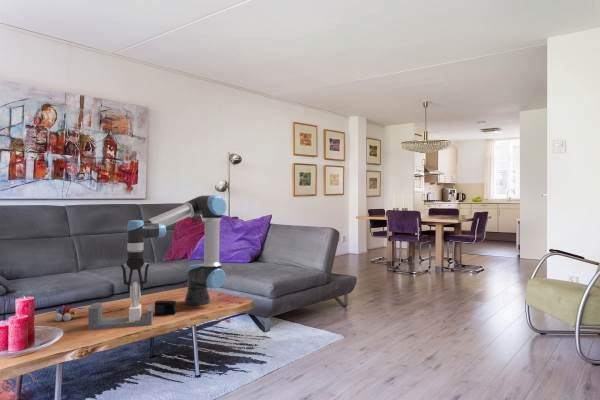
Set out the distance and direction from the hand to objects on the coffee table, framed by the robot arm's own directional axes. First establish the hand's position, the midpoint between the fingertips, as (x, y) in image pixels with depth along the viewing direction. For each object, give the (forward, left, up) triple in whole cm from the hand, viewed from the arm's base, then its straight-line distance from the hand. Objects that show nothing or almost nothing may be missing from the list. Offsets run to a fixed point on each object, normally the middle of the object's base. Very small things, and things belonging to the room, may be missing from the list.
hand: (135, 297), depth 206 cm
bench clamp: (+6, 0, -13) cm, 14 cm away
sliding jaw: (0, 0, -10) cm, 10 cm away
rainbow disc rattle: (+35, -18, -13) cm, 42 cm away
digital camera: (-14, -13, -13) cm, 23 cm away
